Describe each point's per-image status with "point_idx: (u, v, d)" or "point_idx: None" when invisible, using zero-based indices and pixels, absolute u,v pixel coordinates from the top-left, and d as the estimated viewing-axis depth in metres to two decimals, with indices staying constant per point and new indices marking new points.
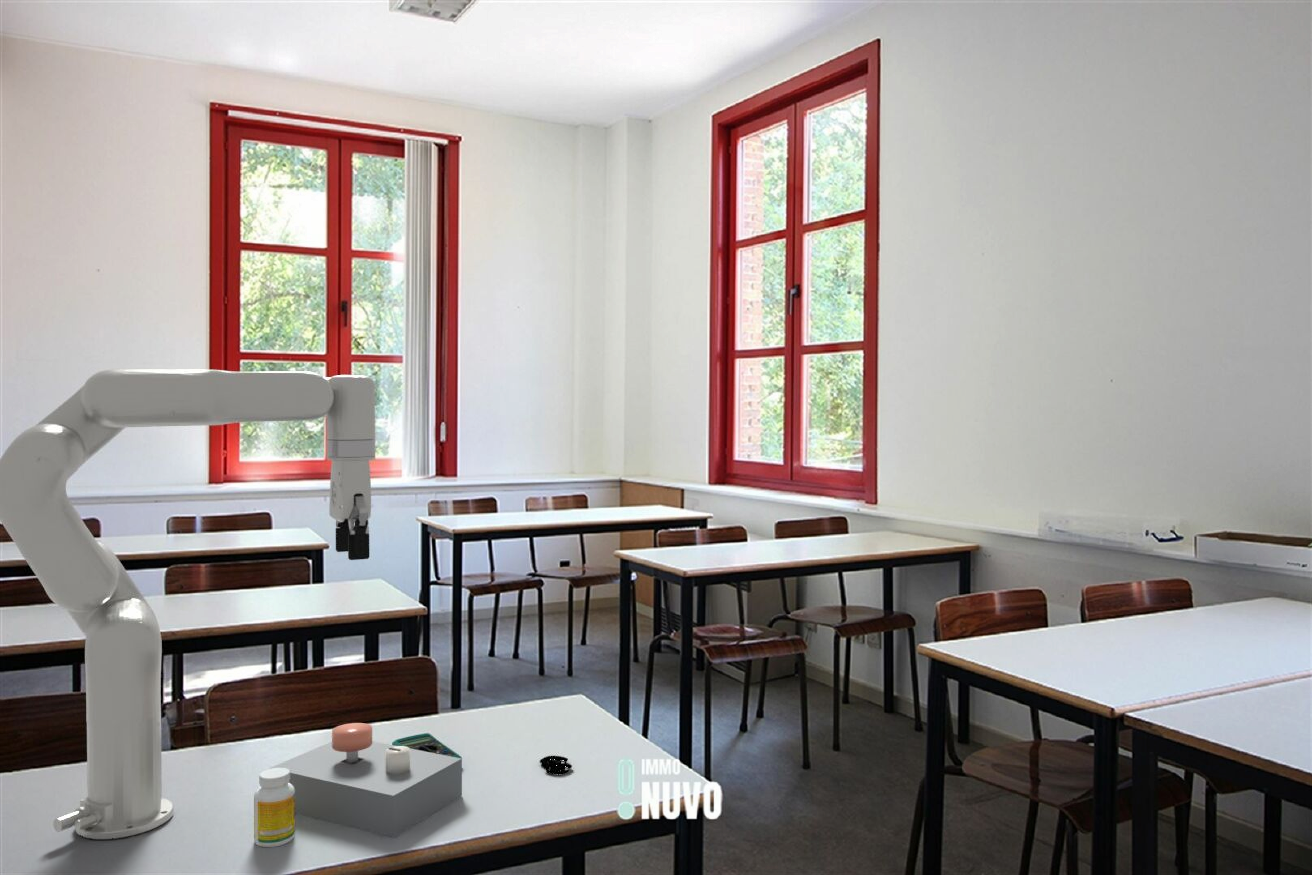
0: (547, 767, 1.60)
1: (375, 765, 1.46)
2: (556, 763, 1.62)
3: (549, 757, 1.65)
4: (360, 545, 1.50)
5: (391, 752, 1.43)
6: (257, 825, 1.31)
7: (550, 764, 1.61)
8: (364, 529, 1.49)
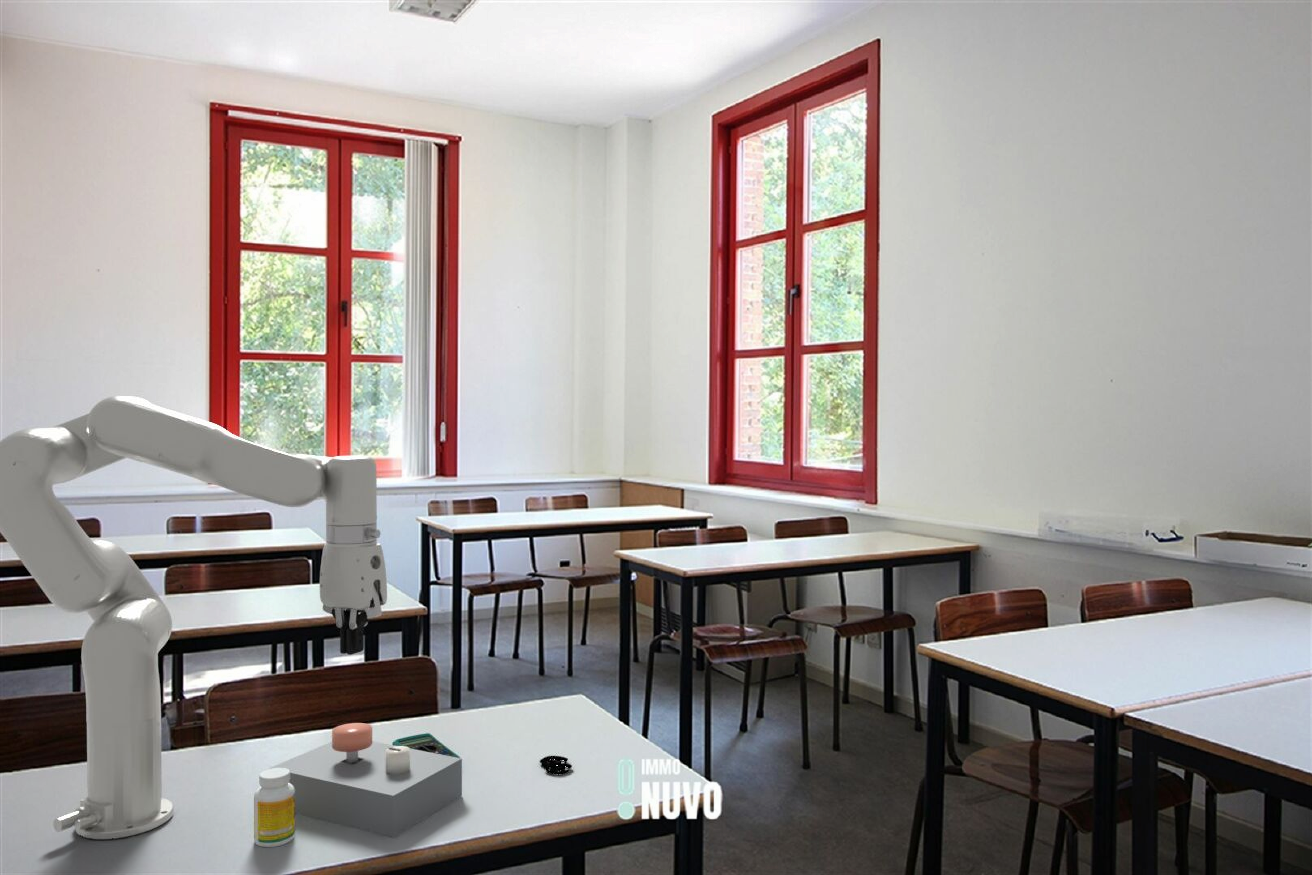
0: (547, 767, 1.60)
1: (375, 765, 1.46)
2: (556, 763, 1.62)
3: (549, 757, 1.65)
4: None
5: (391, 752, 1.43)
6: (257, 825, 1.31)
7: (550, 764, 1.61)
8: None
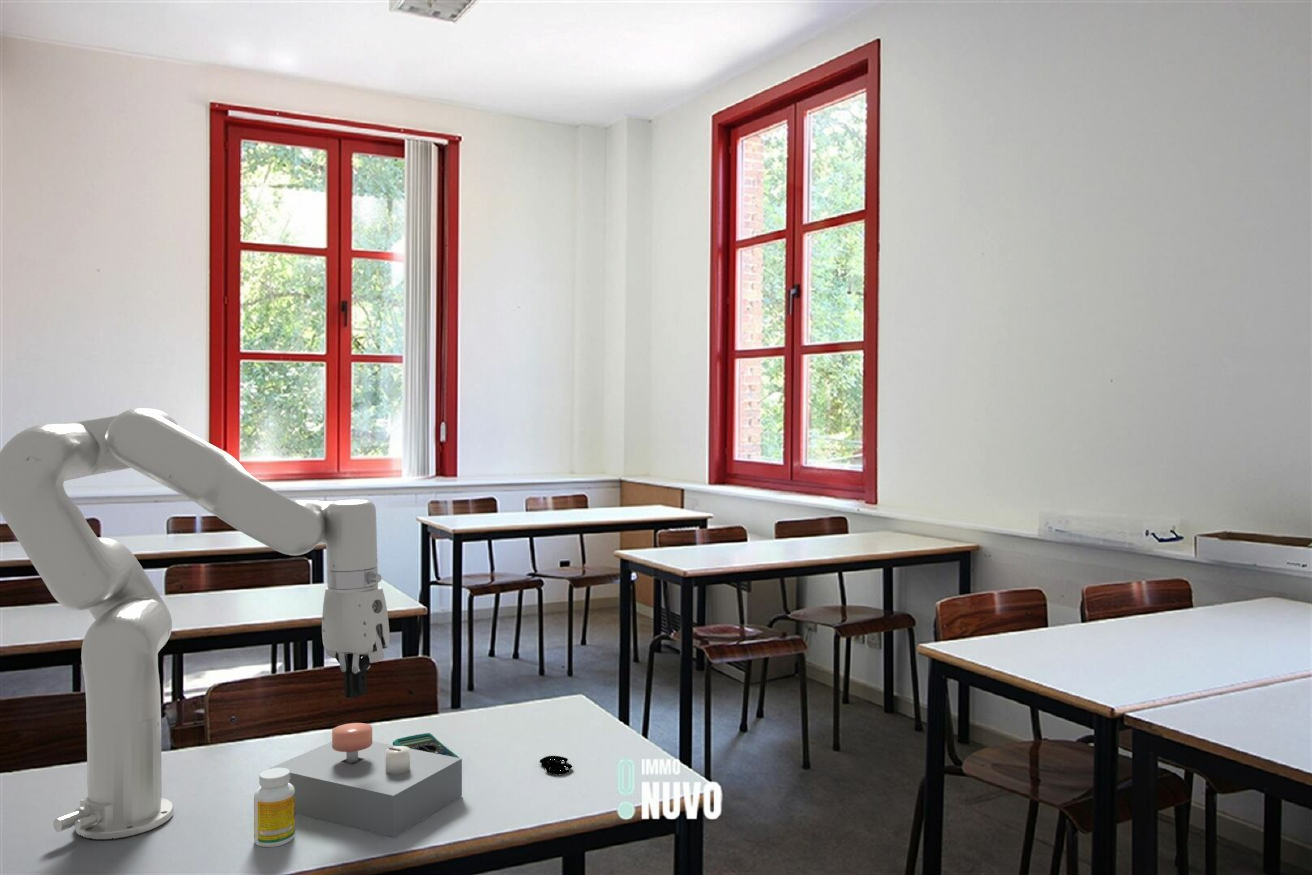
0: (547, 767, 1.60)
1: (375, 765, 1.46)
2: (556, 763, 1.62)
3: (549, 757, 1.65)
4: None
5: (391, 752, 1.43)
6: (257, 825, 1.31)
7: (550, 764, 1.61)
8: None
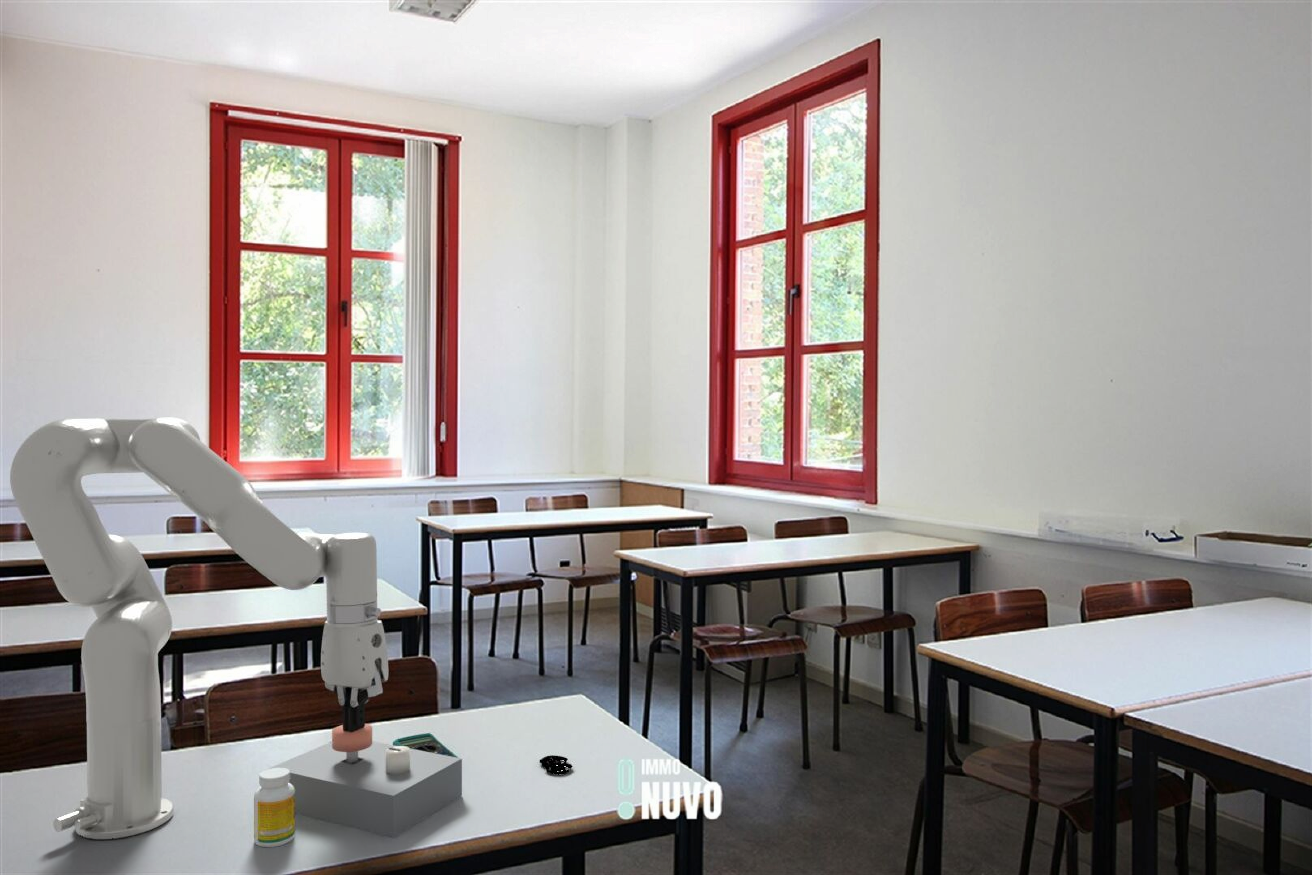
0: (547, 767, 1.60)
1: (375, 765, 1.46)
2: (556, 763, 1.62)
3: (548, 757, 1.65)
4: None
5: (391, 752, 1.43)
6: (257, 825, 1.31)
7: (550, 764, 1.61)
8: None
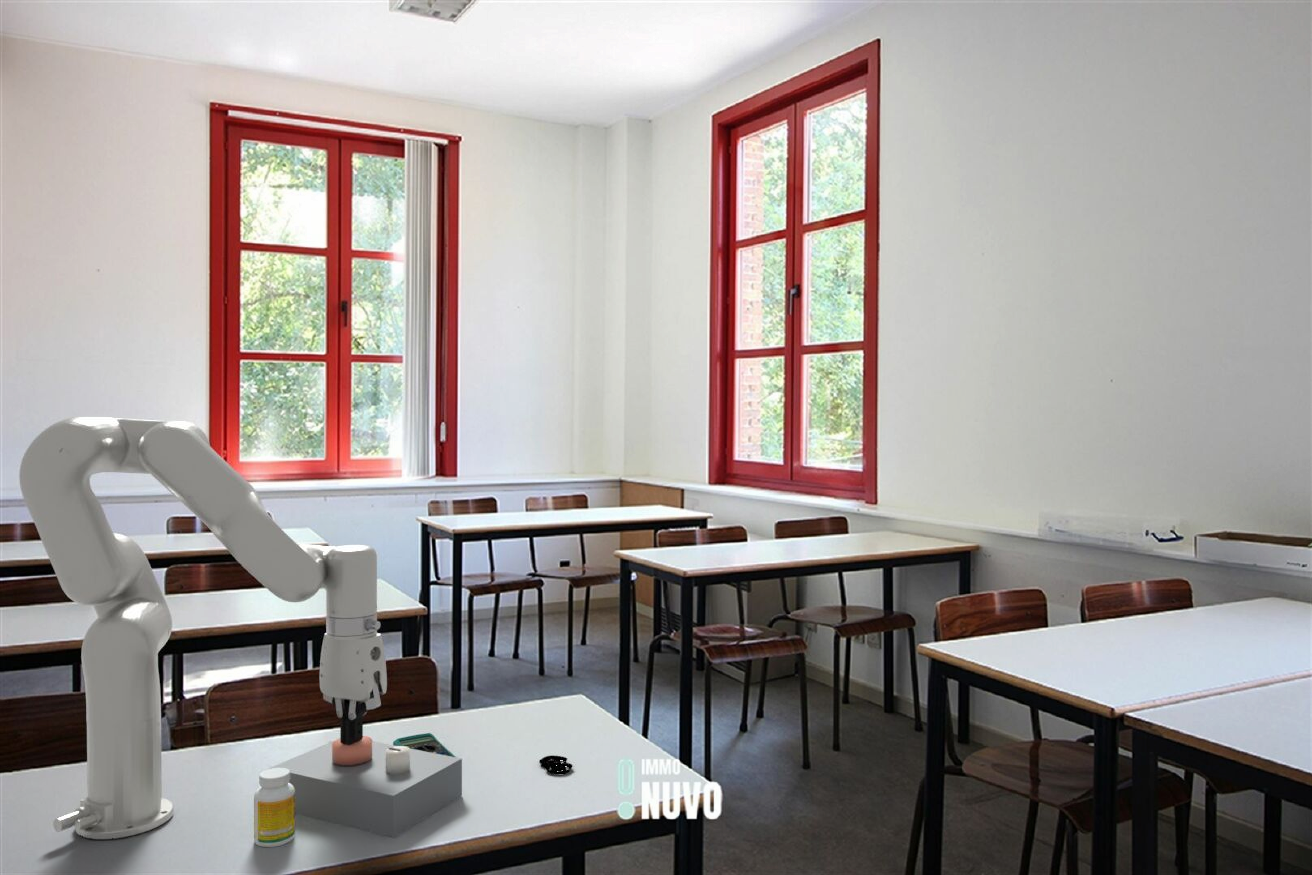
0: (547, 767, 1.60)
1: (375, 765, 1.46)
2: (556, 763, 1.62)
3: (548, 757, 1.65)
4: None
5: (391, 752, 1.43)
6: (257, 825, 1.31)
7: (550, 764, 1.61)
8: None
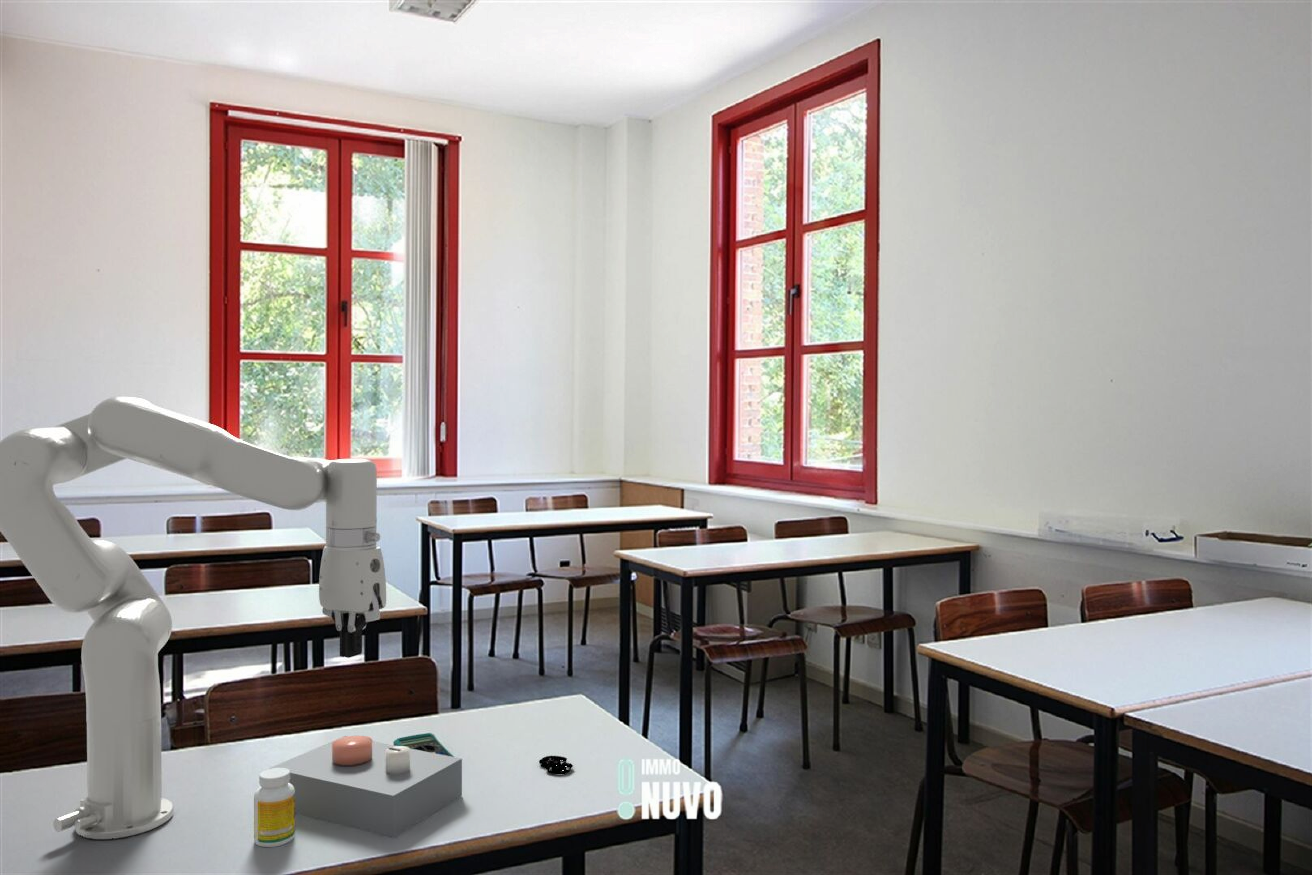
0: (548, 767, 1.60)
1: (375, 765, 1.46)
2: (556, 763, 1.62)
3: (547, 757, 1.65)
4: None
5: (391, 752, 1.43)
6: (257, 825, 1.31)
7: (550, 764, 1.61)
8: None
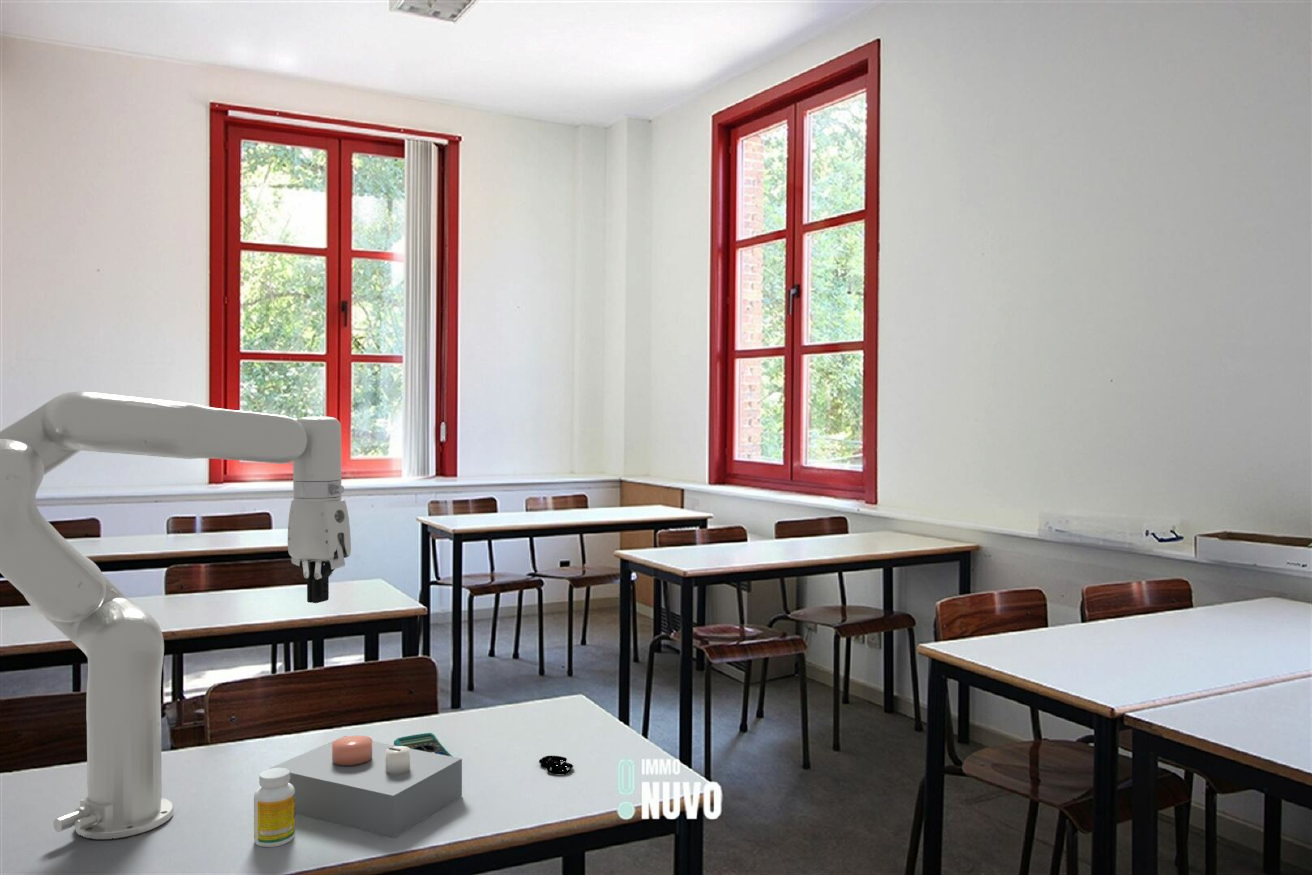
0: (548, 767, 1.60)
1: (375, 765, 1.46)
2: (556, 763, 1.62)
3: (547, 757, 1.65)
4: None
5: (391, 752, 1.43)
6: (257, 825, 1.31)
7: (550, 764, 1.61)
8: None
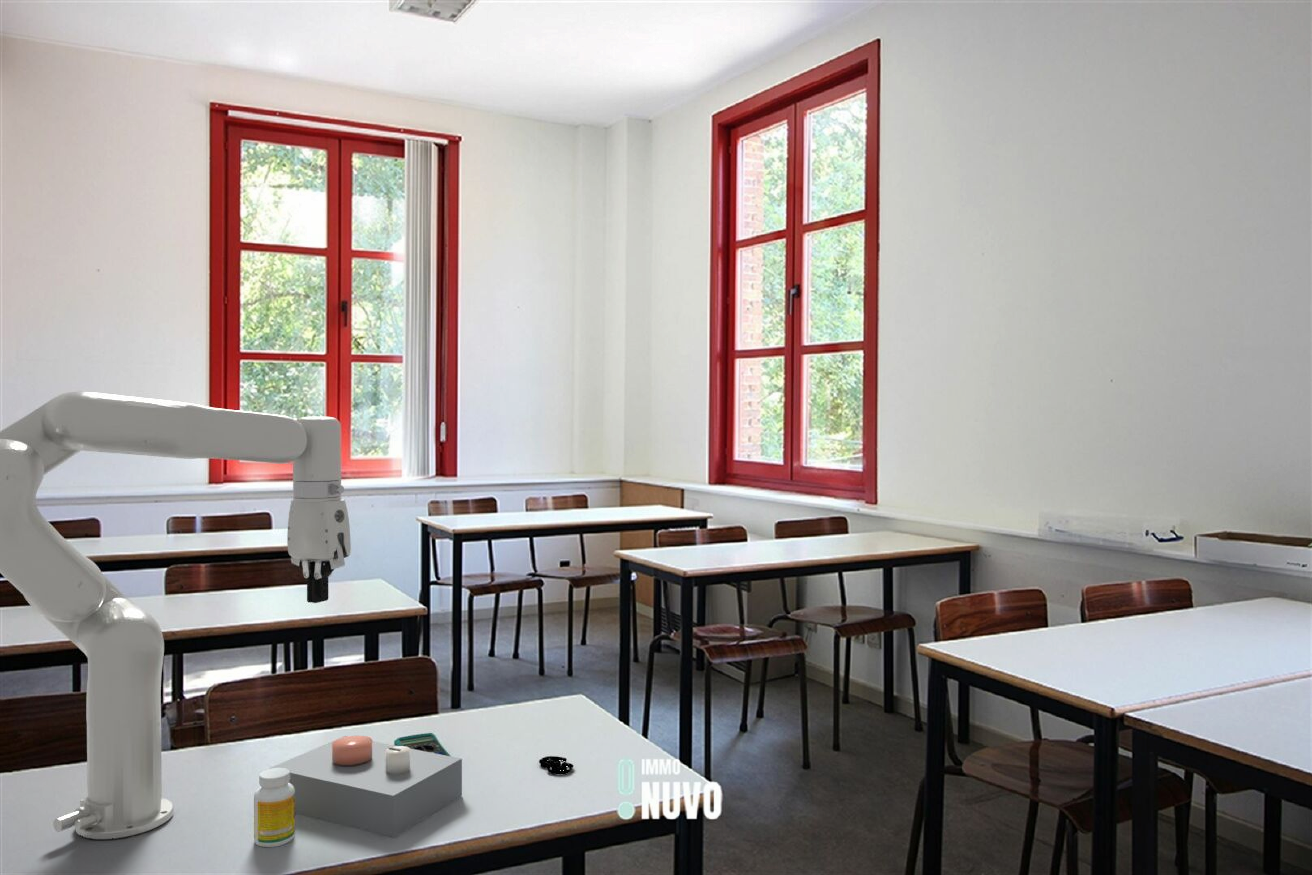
0: (548, 767, 1.60)
1: (375, 765, 1.46)
2: (556, 763, 1.62)
3: (546, 758, 1.64)
4: None
5: (391, 752, 1.43)
6: (257, 825, 1.31)
7: (550, 764, 1.61)
8: None
